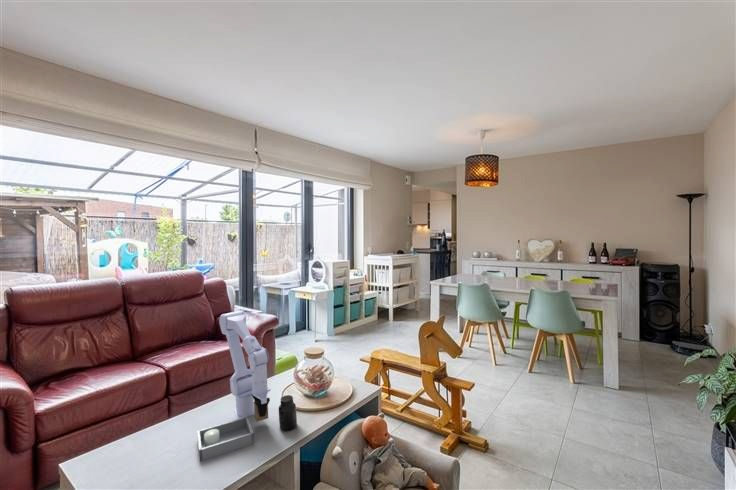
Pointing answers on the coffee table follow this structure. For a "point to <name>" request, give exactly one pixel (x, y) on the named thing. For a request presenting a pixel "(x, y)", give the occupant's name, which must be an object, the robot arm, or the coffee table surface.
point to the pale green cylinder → (211, 437)
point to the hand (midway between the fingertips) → (261, 413)
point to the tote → (226, 438)
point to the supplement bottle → (287, 414)
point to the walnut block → (258, 414)
